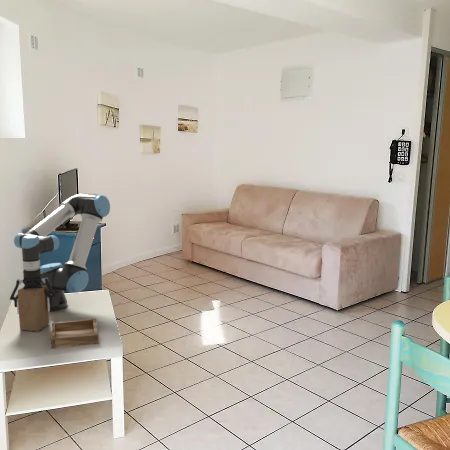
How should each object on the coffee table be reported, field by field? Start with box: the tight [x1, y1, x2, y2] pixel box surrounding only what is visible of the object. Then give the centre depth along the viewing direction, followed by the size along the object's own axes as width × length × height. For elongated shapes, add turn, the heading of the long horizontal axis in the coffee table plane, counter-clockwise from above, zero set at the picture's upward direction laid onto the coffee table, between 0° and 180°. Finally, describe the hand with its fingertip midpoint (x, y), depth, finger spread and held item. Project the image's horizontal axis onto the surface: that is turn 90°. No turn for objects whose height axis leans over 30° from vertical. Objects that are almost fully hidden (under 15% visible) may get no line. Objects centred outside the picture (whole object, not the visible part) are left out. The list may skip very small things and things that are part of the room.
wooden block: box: [17, 285, 50, 332], centre depth 226 cm, size 10×10×20 cm
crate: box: [50, 318, 100, 349], centre depth 218 cm, size 20×20×4 cm
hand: (33, 312), depth 226 cm, fingers closed on wooden block, 13 cm apart
